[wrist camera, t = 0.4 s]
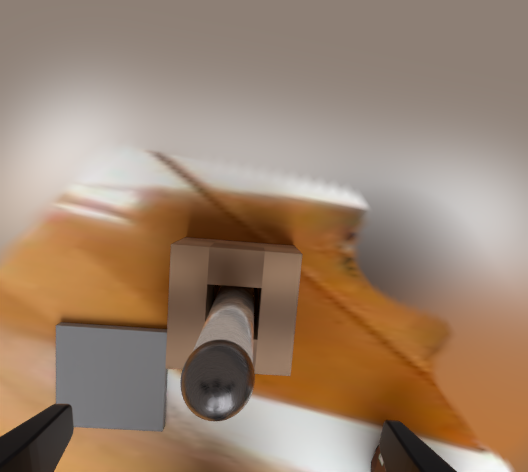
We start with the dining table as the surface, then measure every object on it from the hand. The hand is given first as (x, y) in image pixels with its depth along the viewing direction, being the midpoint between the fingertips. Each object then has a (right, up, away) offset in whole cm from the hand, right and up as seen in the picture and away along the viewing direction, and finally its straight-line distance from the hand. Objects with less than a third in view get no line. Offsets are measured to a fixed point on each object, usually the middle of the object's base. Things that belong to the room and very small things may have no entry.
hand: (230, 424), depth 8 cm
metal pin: (-1, 0, +16) cm, 16 cm away
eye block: (-1, 0, +16) cm, 16 cm away
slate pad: (-12, -7, +16) cm, 21 cm away
